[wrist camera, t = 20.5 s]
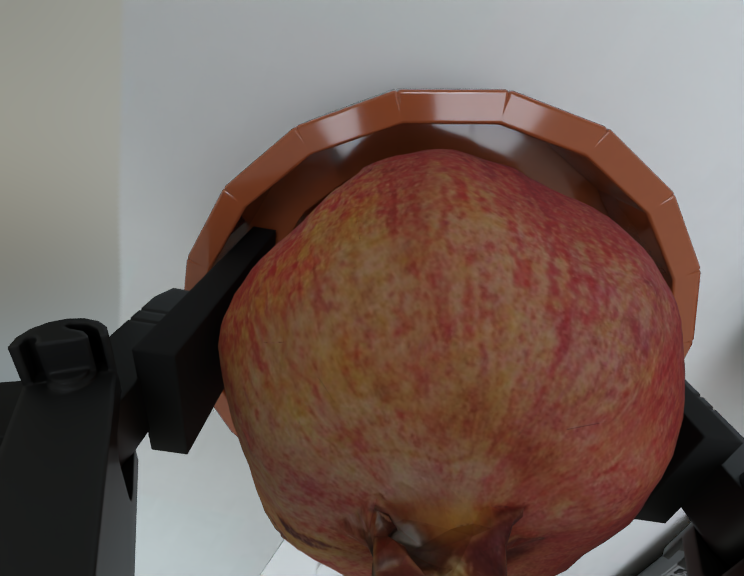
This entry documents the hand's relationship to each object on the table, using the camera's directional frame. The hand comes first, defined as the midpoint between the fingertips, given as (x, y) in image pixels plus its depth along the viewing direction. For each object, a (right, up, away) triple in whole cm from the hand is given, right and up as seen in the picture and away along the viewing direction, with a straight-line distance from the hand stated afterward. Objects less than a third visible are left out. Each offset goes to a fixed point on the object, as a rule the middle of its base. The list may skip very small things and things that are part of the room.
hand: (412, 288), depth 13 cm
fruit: (0, 0, +1) cm, 1 cm away
